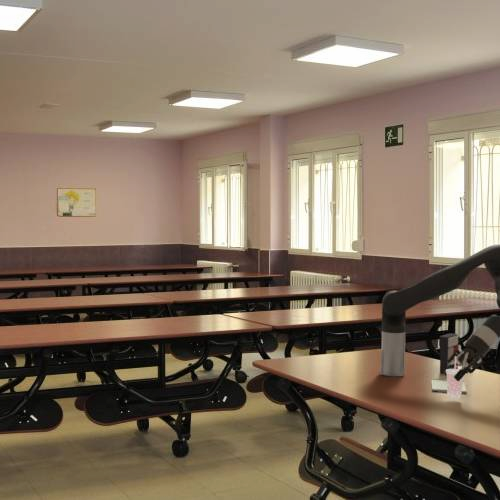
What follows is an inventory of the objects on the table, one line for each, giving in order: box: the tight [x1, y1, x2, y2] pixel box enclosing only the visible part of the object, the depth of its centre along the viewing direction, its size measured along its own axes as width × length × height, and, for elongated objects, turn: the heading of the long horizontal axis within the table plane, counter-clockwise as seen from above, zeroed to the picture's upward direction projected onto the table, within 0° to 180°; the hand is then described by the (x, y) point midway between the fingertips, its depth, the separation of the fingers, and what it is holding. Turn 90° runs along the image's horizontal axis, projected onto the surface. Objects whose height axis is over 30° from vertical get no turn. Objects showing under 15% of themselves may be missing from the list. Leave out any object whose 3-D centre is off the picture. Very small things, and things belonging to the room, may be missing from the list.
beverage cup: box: [446, 356, 464, 399], centre depth 249 cm, size 6×6×14 cm
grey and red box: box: [438, 332, 459, 375], centre depth 297 cm, size 11×4×15 cm, turn 143°
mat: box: [431, 378, 467, 395], centre depth 270 cm, size 12×18×1 cm, turn 167°
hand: (450, 377), depth 248 cm, fingers closed on beverage cup, 6 cm apart
